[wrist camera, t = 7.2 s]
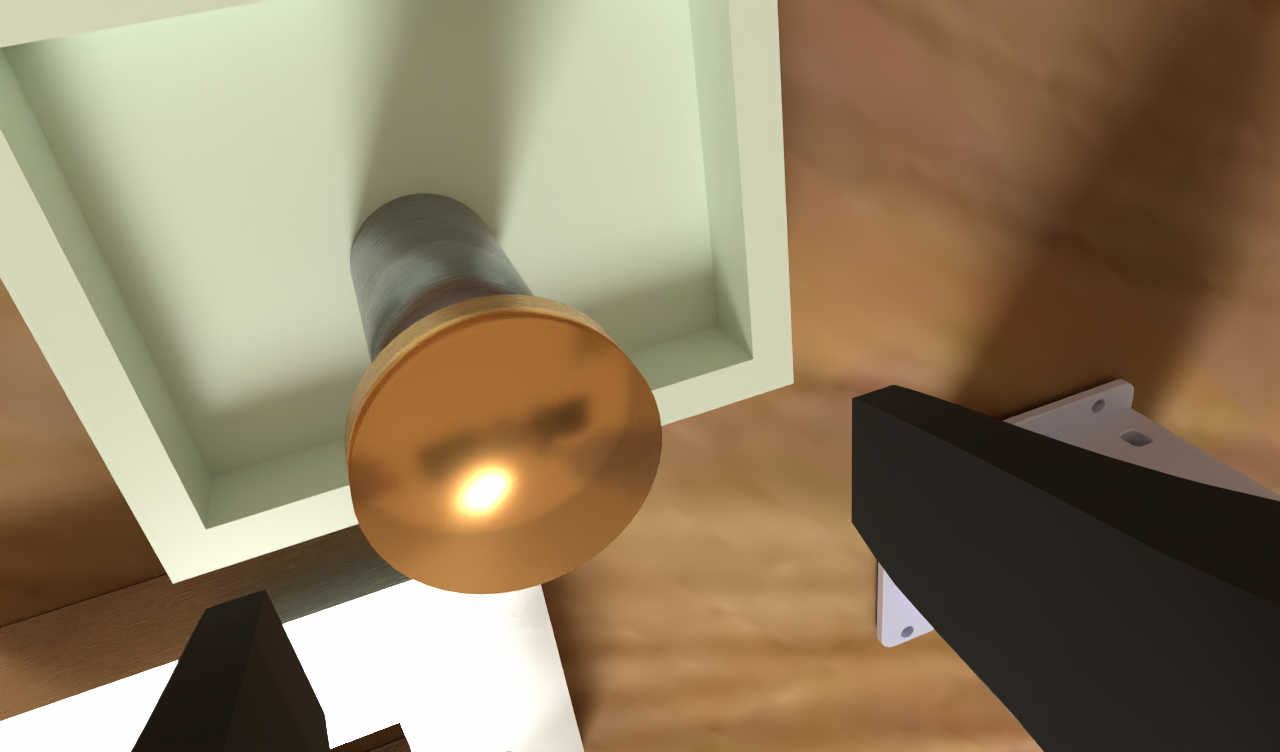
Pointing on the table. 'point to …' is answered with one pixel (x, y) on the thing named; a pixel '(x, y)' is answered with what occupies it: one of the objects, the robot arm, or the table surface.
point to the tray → (347, 195)
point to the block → (301, 656)
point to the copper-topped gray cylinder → (485, 411)
